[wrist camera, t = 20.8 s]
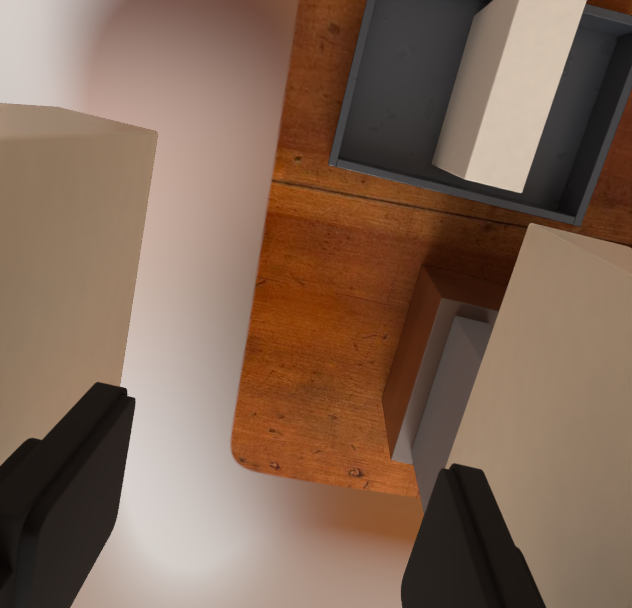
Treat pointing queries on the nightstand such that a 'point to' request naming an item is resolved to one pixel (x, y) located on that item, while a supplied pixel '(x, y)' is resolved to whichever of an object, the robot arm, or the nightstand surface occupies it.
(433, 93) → the book tray
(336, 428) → the nightstand surface
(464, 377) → the grey book
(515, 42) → the white book
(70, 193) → the cream books
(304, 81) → the nightstand surface
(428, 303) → the book shelf
